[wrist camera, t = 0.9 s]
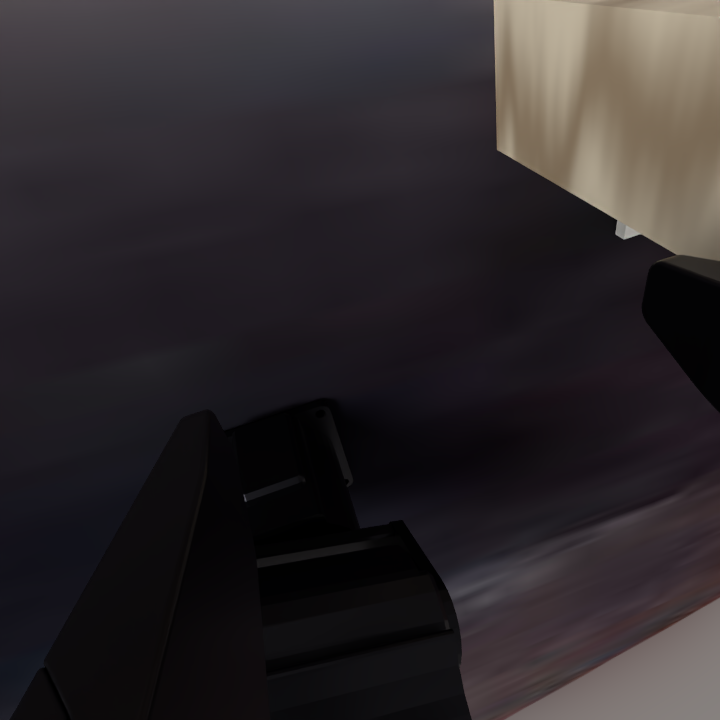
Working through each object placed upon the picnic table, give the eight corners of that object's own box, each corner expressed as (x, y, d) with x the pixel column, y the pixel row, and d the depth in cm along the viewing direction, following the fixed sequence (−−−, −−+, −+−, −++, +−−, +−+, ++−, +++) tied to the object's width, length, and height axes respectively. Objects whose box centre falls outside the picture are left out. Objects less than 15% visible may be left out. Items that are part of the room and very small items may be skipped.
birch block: (613, 114, 20) (967, 236, 11) (497, 149, 20) (765, 306, 11) (631, -44, 17) (1144, -52, 8) (493, -5, 17) (869, 31, 8)
